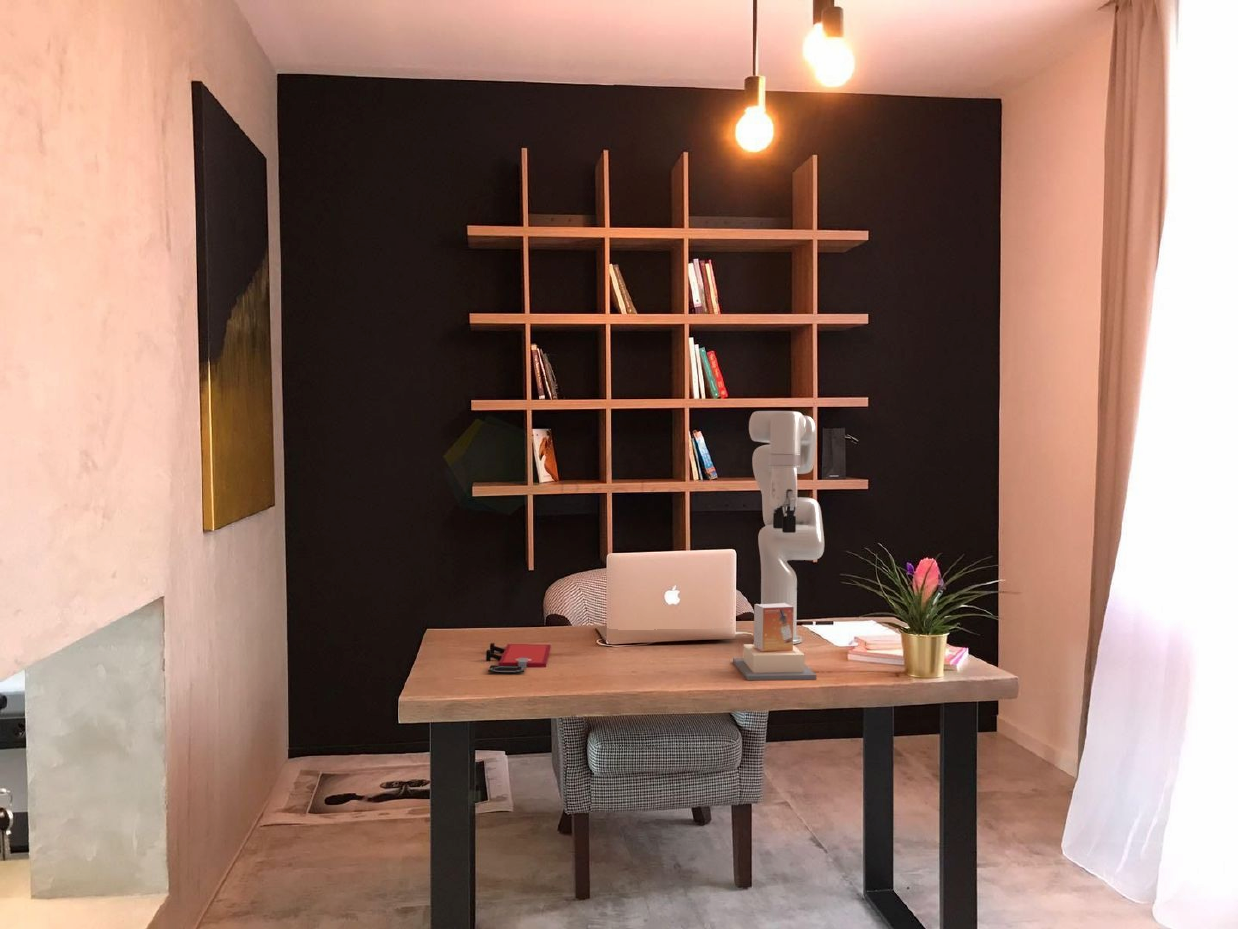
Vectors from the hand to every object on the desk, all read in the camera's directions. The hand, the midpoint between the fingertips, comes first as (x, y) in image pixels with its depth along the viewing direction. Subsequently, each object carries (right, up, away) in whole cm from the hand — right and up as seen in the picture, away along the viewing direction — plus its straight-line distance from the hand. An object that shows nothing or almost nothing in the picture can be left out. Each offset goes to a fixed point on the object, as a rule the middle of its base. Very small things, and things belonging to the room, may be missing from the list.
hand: (784, 530), depth 250 cm
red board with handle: (-66, -33, 0) cm, 74 cm away
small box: (-4, -28, -10) cm, 30 cm away
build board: (-4, -33, -10) cm, 34 cm away
